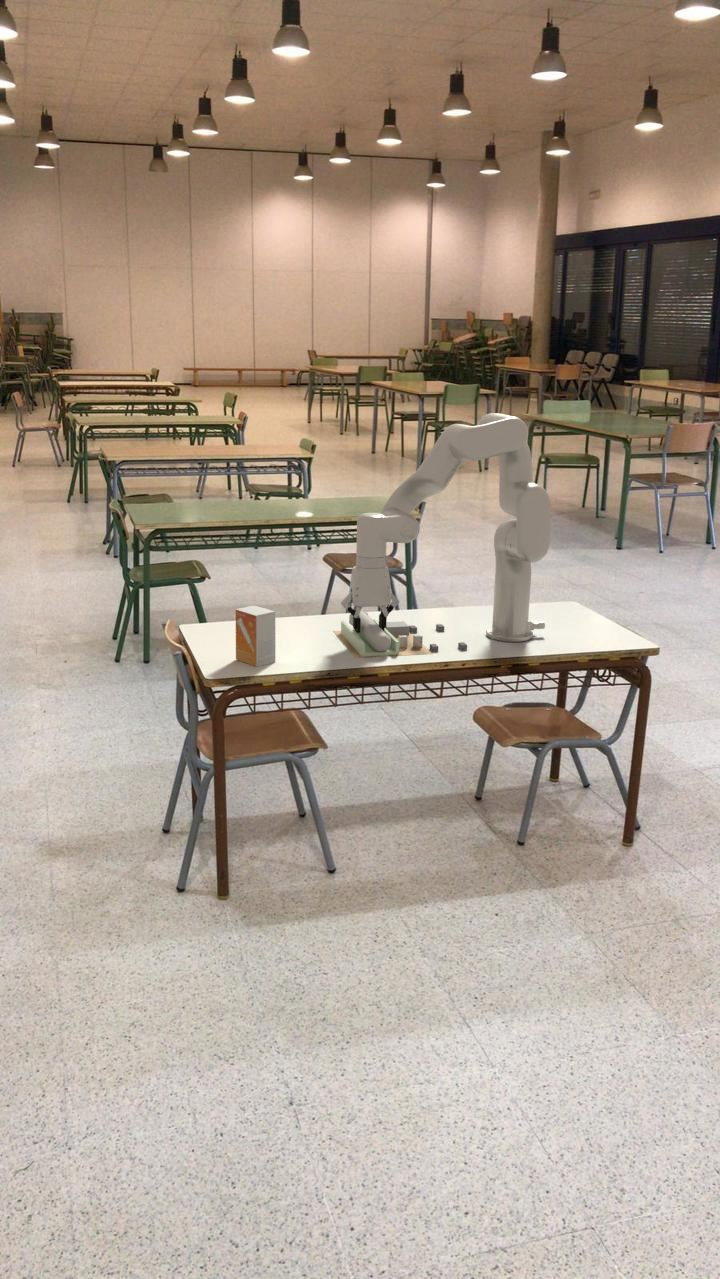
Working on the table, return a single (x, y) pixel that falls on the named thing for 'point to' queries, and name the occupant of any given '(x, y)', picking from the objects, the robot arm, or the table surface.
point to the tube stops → (433, 646)
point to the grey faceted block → (397, 628)
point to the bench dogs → (416, 641)
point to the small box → (255, 635)
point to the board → (402, 652)
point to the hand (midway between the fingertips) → (369, 630)
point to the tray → (363, 645)
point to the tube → (372, 632)
